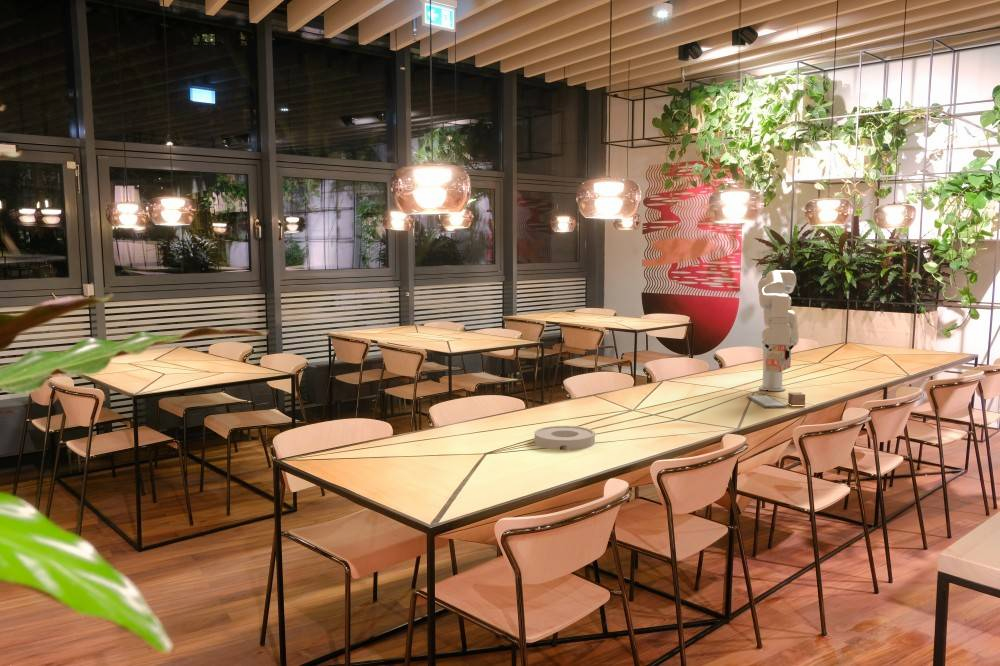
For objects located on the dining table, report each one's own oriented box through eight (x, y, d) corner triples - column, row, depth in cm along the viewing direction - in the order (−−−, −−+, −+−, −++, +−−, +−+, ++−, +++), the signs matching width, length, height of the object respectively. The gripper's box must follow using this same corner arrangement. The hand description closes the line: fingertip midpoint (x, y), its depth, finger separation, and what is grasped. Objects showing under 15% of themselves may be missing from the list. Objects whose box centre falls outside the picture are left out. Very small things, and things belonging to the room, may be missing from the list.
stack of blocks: (779, 373, 355) (780, 346, 354) (765, 372, 359) (766, 345, 358) (790, 367, 373) (791, 342, 372) (777, 366, 376) (777, 341, 375)
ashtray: (566, 432, 312) (566, 422, 312) (607, 443, 294) (608, 433, 293) (522, 442, 298) (522, 431, 298) (562, 454, 280) (562, 443, 279)
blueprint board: (747, 397, 376) (747, 395, 376) (767, 397, 376) (767, 395, 376) (764, 408, 351) (764, 405, 351) (786, 407, 351) (786, 405, 351)
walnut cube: (788, 404, 359) (788, 392, 359) (800, 404, 359) (800, 392, 359) (792, 406, 354) (793, 394, 353) (804, 406, 354) (805, 394, 353)
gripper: (759, 321, 365) (758, 358, 367) (798, 322, 357) (797, 360, 358) (762, 320, 372) (761, 357, 373) (800, 321, 363) (799, 358, 365)
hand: (779, 358), depth 366 cm, fingers closed on stack of blocks, 6 cm apart
